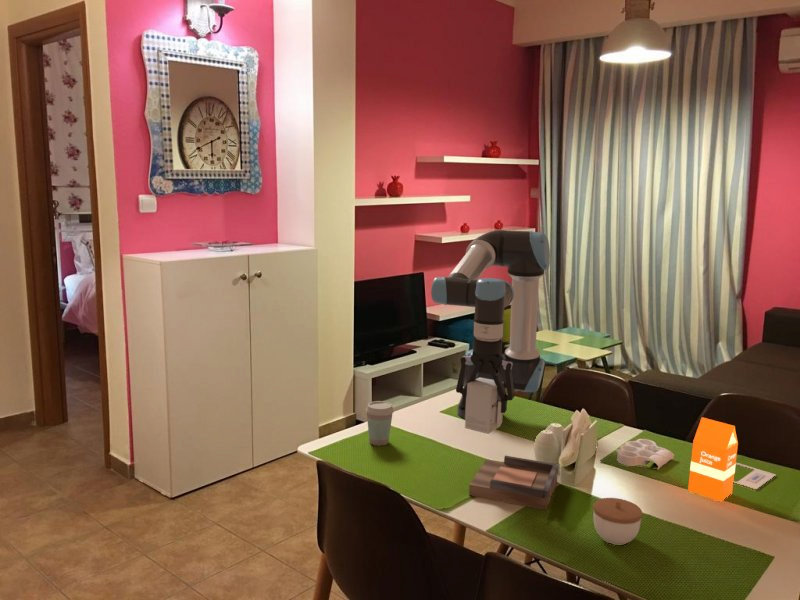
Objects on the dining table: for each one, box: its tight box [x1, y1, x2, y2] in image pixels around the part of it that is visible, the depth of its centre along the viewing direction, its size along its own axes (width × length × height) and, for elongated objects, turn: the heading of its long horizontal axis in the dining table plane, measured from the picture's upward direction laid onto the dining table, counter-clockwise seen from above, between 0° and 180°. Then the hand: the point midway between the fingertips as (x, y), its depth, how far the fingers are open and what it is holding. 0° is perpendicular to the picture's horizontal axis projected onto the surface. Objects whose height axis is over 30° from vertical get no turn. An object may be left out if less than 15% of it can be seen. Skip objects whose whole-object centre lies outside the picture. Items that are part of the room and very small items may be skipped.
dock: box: [468, 455, 559, 511], centre depth 189 cm, size 18×20×5 cm
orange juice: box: [687, 417, 739, 503], centre depth 188 cm, size 8×9×20 cm
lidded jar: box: [592, 497, 643, 545], centre depth 163 cm, size 11×11×9 cm
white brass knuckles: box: [614, 438, 675, 470], centre depth 211 cm, size 3×18×15 cm
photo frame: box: [733, 461, 777, 490], centre depth 203 cm, size 15×1×18 cm
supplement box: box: [464, 378, 502, 435], centre depth 188 cm, size 7×7×13 cm
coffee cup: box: [365, 400, 394, 447], centre depth 217 cm, size 8×8×12 cm
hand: (483, 421), depth 189 cm, fingers closed on supplement box, 8 cm apart
